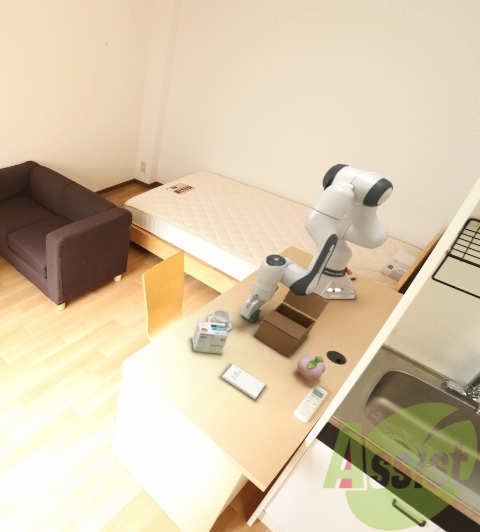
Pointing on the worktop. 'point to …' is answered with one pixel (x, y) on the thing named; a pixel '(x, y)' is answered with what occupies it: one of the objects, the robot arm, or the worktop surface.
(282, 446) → the worktop surface
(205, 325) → the light bulb box
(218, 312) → the teacup
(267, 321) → the carton
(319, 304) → the flap
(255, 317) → the block
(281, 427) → the worktop surface
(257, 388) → the hard drive
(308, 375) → the decorative fruit
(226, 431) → the worktop surface
